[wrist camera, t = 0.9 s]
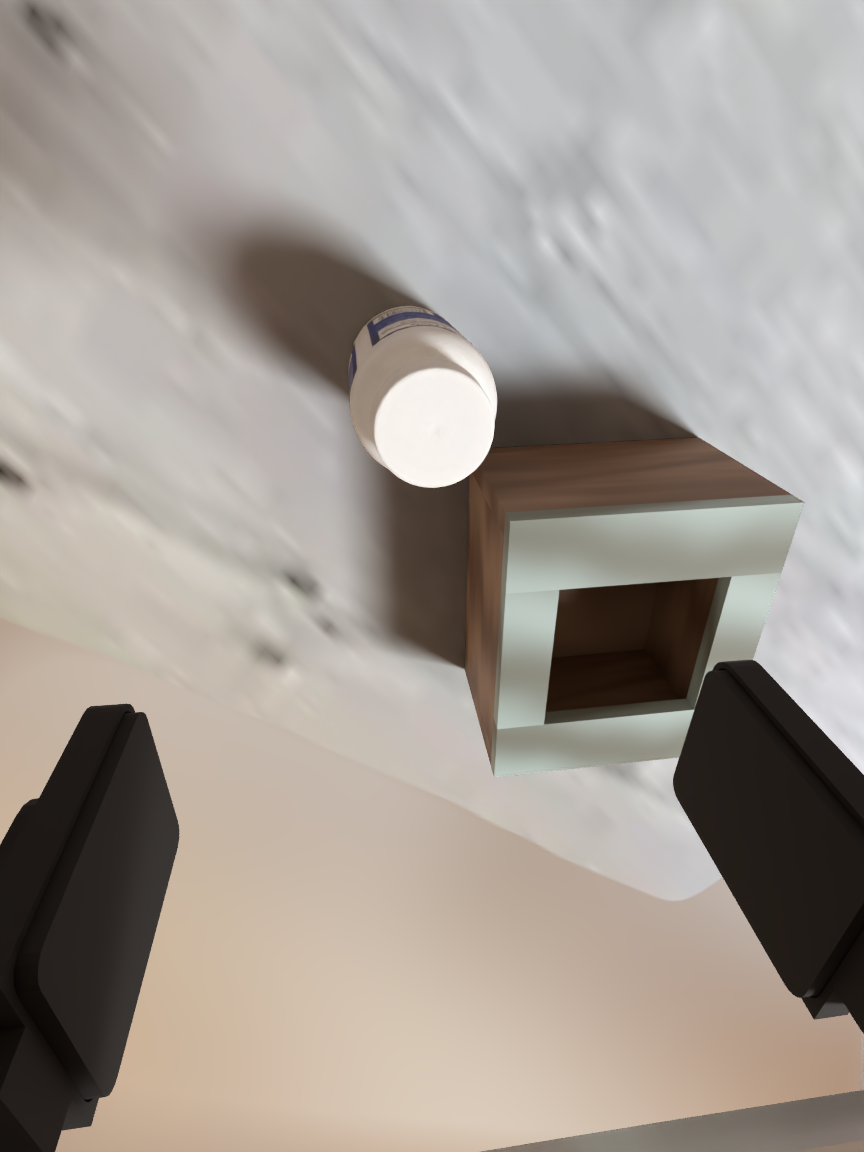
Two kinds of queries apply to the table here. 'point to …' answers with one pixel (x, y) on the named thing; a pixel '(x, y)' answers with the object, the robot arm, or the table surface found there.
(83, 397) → the table surface
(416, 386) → the pill bottle
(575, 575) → the box
